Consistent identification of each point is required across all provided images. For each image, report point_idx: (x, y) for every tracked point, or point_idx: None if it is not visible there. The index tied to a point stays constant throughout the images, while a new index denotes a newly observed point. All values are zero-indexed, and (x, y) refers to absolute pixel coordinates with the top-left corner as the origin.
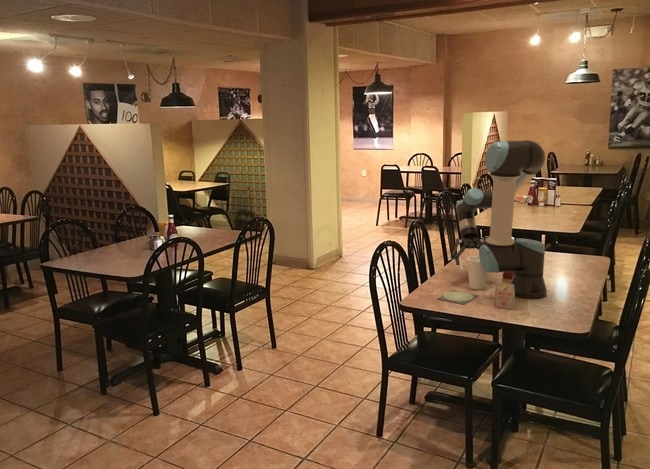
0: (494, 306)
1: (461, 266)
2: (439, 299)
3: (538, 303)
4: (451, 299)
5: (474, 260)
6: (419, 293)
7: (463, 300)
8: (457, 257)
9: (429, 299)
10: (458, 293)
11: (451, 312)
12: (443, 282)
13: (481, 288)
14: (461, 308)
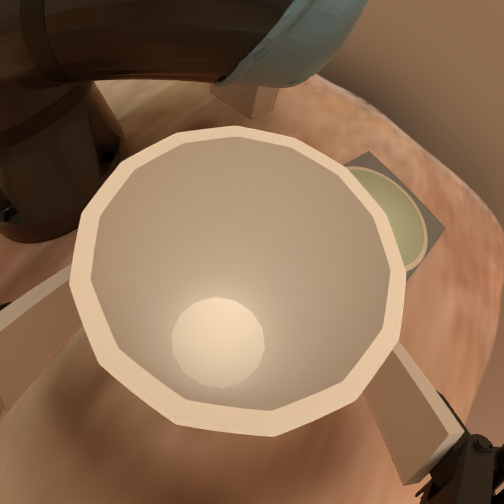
0: (273, 106)
1: (397, 349)
2: (437, 222)
3: (113, 97)
4: (405, 193)
5: (231, 402)
6: (487, 313)
7: (366, 168)
8: (462, 443)
9: (461, 240)
10: None
11: (403, 133)
12: (378, 477)
13: (210, 297)
14: (377, 139)
